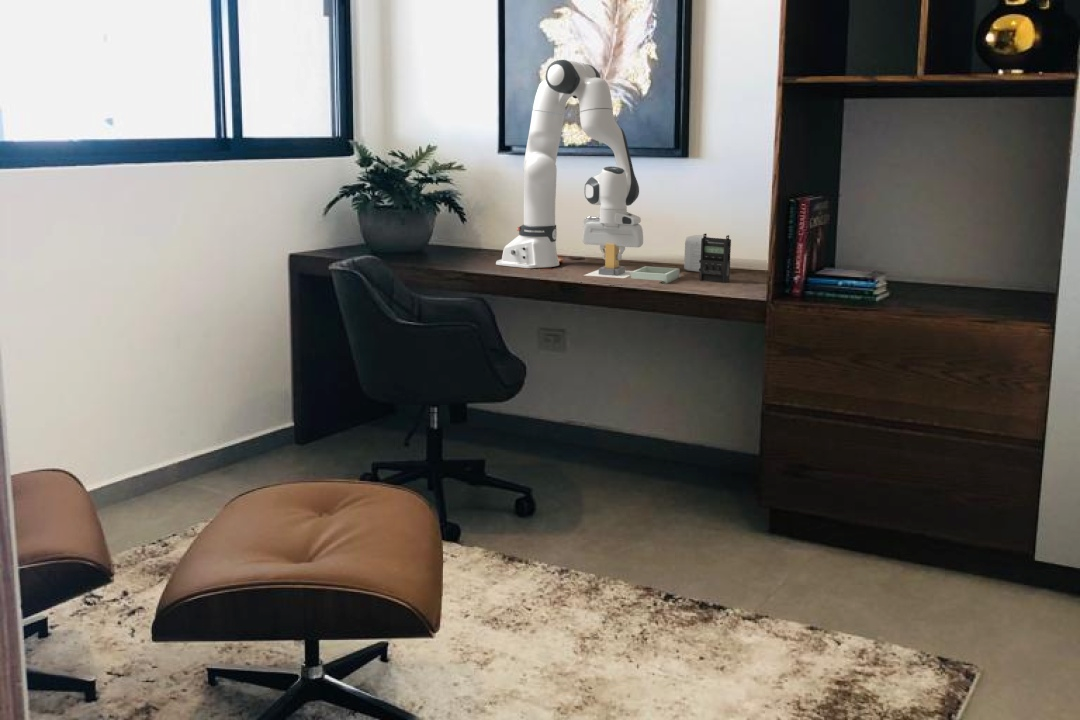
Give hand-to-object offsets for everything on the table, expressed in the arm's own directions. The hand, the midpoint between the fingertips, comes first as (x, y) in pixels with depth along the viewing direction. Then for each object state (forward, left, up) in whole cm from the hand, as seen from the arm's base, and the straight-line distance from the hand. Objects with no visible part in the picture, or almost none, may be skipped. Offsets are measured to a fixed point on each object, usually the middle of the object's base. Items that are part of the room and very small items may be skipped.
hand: (612, 259), depth 365 cm
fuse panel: (0, 0, -6) cm, 6 cm away
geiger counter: (+33, +5, -6) cm, 34 cm away
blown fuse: (0, 0, -5) cm, 5 cm away
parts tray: (+15, 0, -6) cm, 16 cm away
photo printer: (+23, +23, -6) cm, 33 cm away
